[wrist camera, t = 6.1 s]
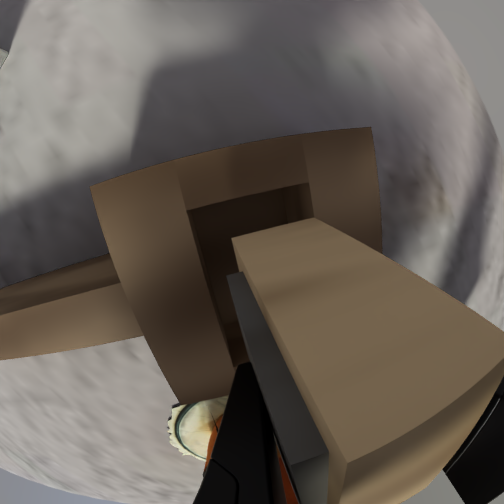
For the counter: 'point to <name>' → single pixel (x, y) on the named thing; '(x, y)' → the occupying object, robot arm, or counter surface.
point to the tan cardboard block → (359, 363)
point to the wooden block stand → (191, 252)
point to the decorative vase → (208, 434)
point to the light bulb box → (3, 56)
